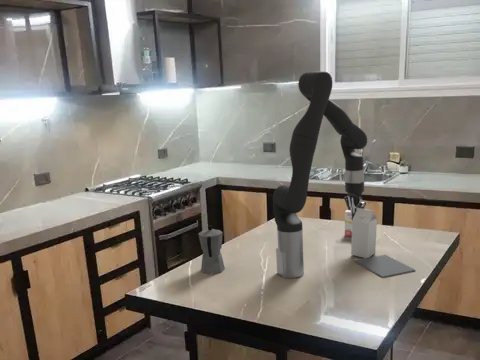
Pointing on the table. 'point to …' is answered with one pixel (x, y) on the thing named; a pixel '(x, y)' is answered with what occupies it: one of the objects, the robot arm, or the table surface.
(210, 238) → the coffeepot
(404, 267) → the mat
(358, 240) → the milk carton
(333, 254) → the table surface
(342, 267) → the table surface
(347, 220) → the ink cartridge box
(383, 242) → the table surface
